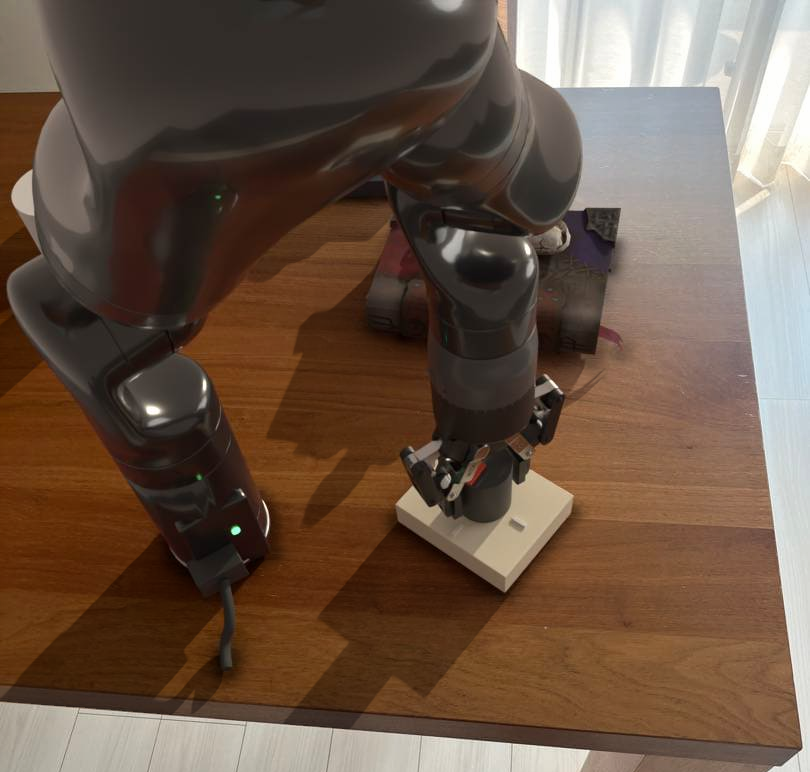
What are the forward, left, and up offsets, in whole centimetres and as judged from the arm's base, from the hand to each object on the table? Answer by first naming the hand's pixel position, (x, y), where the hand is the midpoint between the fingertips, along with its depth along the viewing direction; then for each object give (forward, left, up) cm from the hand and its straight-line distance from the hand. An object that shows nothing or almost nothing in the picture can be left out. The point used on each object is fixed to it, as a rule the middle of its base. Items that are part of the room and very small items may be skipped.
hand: (483, 492), depth 76 cm
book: (+23, -16, -4) cm, 28 cm away
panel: (0, 0, -4) cm, 4 cm away
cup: (+50, +19, -4) cm, 54 cm away
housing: (+48, -16, -4) cm, 51 cm away
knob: (0, 0, -1) cm, 1 cm away
